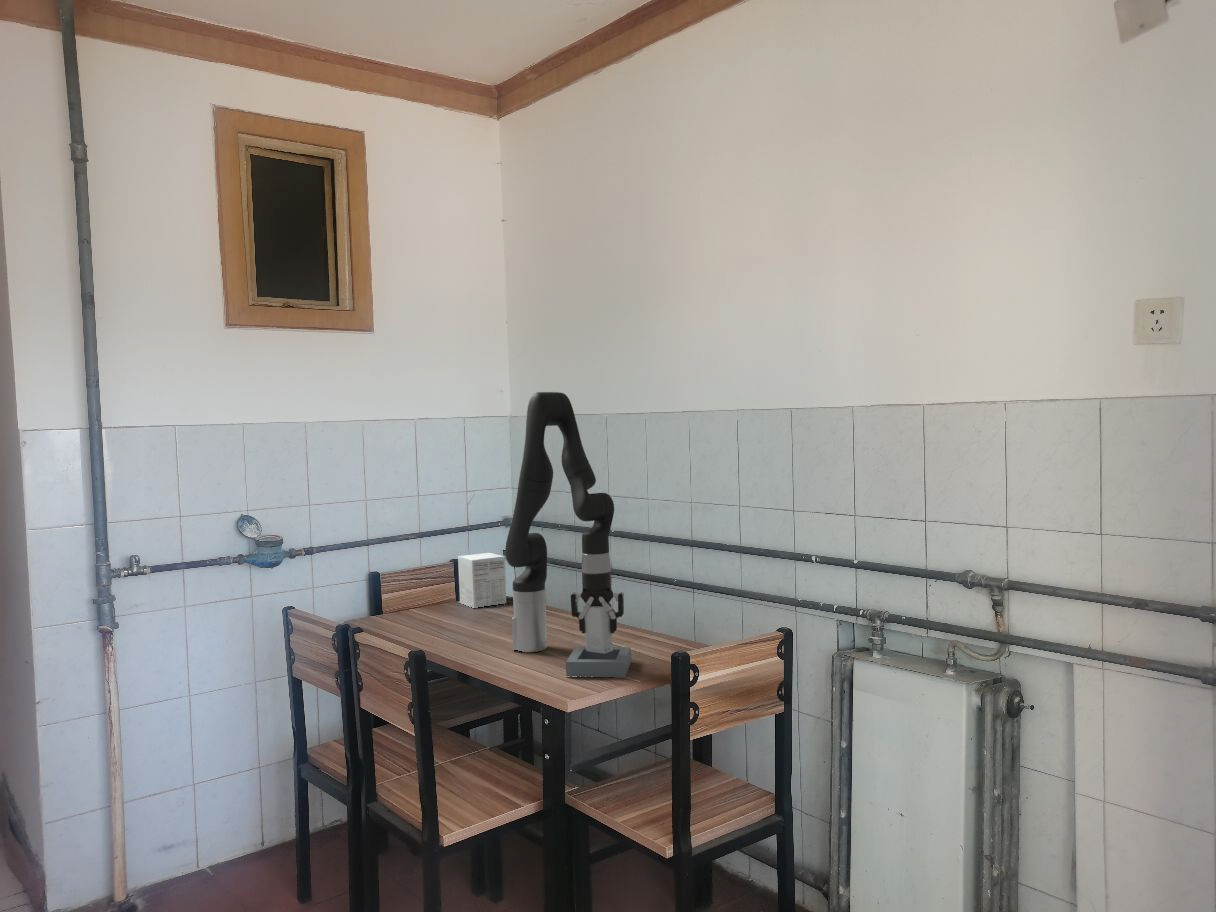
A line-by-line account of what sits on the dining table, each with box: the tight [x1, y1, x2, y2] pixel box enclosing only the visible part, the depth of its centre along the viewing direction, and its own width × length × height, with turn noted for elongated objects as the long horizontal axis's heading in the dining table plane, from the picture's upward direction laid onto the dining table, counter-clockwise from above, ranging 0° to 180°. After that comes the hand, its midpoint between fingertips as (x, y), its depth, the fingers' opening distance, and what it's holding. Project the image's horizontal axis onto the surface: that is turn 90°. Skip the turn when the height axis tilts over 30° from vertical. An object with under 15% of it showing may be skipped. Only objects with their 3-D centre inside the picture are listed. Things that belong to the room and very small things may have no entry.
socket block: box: [565, 646, 632, 679], centre depth 237 cm, size 15×15×4 cm
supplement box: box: [457, 552, 507, 609], centre depth 328 cm, size 13×13×18 cm
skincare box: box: [582, 605, 614, 654], centre depth 236 cm, size 6×4×12 cm
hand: (598, 632), depth 236 cm, fingers closed on skincare box, 7 cm apart
